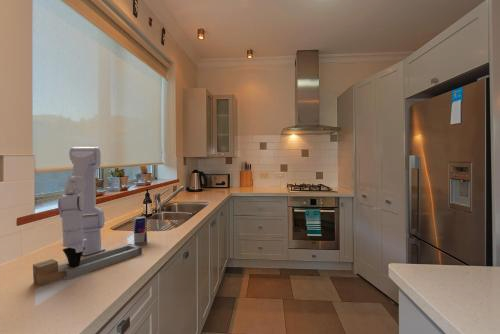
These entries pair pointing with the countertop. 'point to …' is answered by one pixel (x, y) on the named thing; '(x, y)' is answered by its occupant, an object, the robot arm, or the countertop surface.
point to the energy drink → (140, 230)
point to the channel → (102, 259)
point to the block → (48, 272)
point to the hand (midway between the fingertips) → (74, 268)
